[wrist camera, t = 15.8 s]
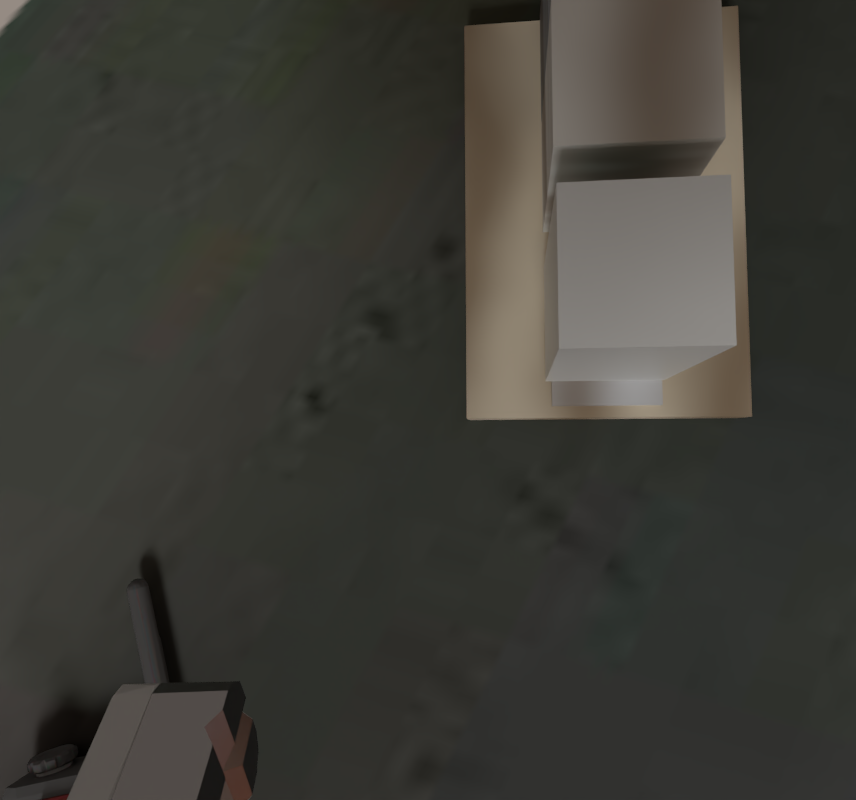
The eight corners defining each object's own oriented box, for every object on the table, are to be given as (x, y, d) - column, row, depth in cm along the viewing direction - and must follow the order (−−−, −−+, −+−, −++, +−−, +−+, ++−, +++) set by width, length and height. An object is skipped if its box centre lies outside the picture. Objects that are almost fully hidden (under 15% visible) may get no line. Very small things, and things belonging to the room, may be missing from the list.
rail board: (469, 419, 33) (446, 404, 23) (466, 44, 35) (444, -141, 24) (741, 417, 32) (856, 400, 21) (727, 25, 33) (830, -180, 22)
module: (545, 381, 31) (558, 348, 21) (543, 262, 32) (556, 176, 22) (665, 379, 31) (736, 345, 21) (661, 258, 31) (730, 167, 21)
